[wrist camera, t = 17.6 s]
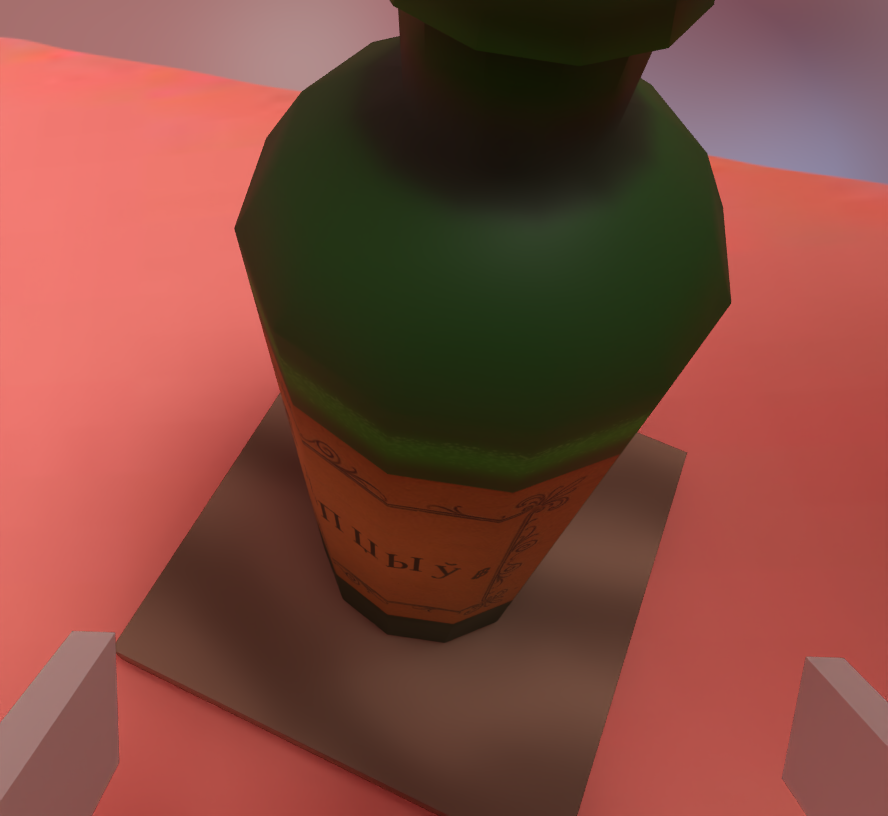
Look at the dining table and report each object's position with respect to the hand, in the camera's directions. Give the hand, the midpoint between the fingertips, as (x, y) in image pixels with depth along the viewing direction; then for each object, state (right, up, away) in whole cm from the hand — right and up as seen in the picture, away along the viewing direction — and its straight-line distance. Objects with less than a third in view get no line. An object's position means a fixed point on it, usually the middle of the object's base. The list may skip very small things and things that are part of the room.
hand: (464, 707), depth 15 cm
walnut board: (-1, -1, +19) cm, 19 cm away
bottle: (-1, 0, +18) cm, 18 cm away
